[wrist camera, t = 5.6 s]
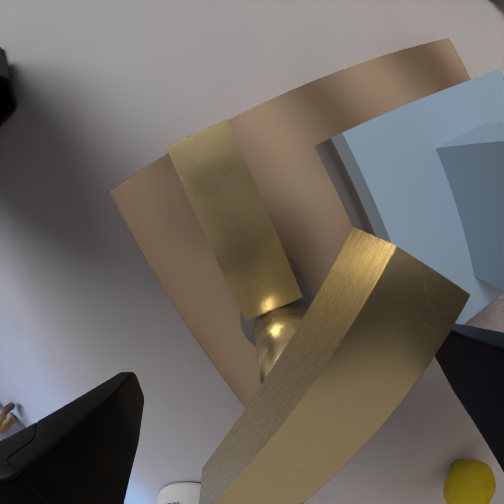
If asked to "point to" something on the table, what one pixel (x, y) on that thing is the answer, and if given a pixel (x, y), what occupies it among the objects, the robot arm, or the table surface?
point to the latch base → (277, 195)
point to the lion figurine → (7, 418)
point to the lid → (438, 183)
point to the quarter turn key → (308, 335)
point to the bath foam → (180, 493)
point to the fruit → (469, 483)
